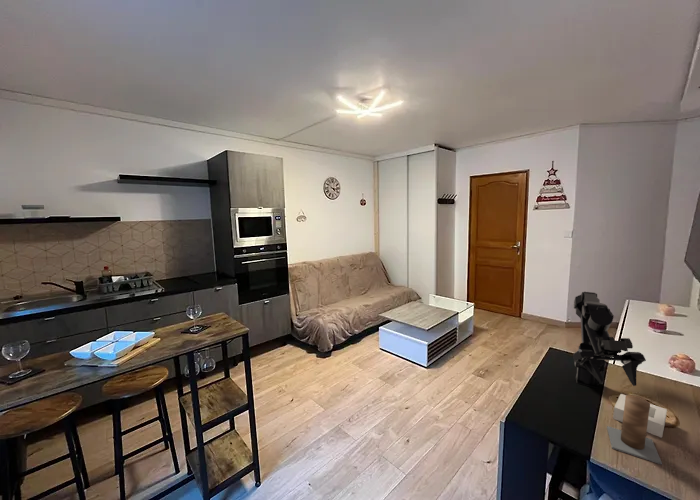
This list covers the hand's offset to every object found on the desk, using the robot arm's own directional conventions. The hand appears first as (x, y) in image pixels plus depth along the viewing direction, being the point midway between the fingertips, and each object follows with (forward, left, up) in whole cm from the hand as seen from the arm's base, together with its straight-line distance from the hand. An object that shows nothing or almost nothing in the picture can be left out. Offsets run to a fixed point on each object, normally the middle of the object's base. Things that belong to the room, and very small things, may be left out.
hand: (618, 384), depth 96 cm
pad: (+2, -12, -12) cm, 17 cm away
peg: (+2, -12, -11) cm, 16 cm away
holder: (+6, +3, -12) cm, 13 cm away
